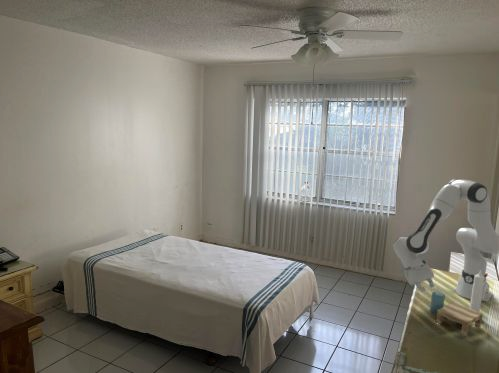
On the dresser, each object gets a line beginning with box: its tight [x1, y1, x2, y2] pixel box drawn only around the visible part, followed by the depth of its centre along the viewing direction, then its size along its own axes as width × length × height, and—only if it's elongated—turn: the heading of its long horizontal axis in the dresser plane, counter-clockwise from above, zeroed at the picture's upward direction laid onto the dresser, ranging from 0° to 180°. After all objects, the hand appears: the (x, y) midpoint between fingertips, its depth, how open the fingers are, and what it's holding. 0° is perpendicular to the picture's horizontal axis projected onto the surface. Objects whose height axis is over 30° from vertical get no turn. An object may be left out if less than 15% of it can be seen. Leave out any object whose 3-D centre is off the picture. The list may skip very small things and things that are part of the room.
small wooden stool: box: [435, 302, 483, 337], centre depth 186 cm, size 16×14×7 cm
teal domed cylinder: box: [429, 291, 446, 315], centre depth 198 cm, size 6×6×10 cm
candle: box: [469, 270, 485, 313], centre depth 195 cm, size 7×7×25 cm
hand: (428, 289), depth 202 cm, fingers open, 8 cm apart
